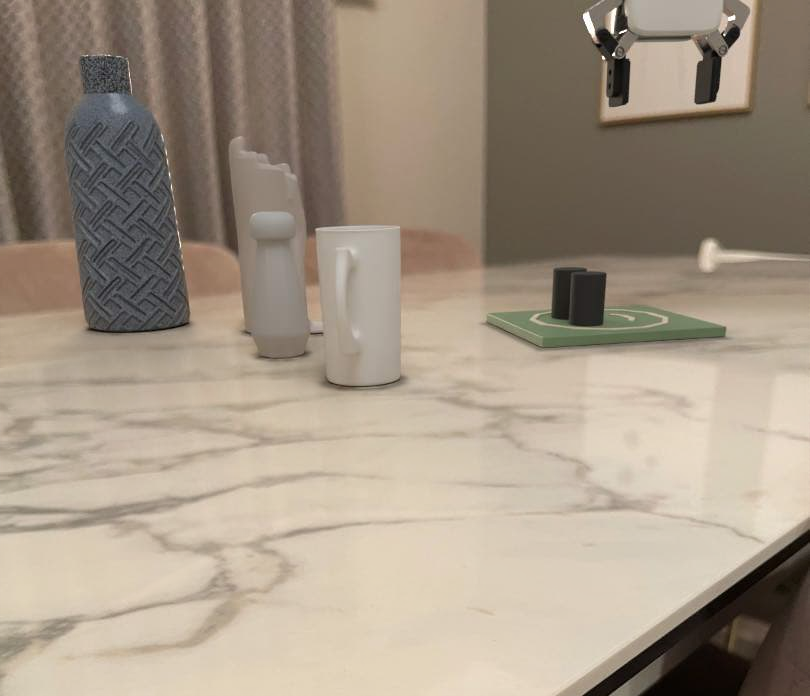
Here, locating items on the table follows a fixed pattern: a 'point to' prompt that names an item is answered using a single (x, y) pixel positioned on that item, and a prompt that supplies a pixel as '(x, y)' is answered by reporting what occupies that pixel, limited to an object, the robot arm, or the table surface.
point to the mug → (360, 303)
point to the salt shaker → (277, 289)
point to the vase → (122, 206)
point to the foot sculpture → (264, 192)
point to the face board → (605, 327)
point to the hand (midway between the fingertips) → (661, 104)
